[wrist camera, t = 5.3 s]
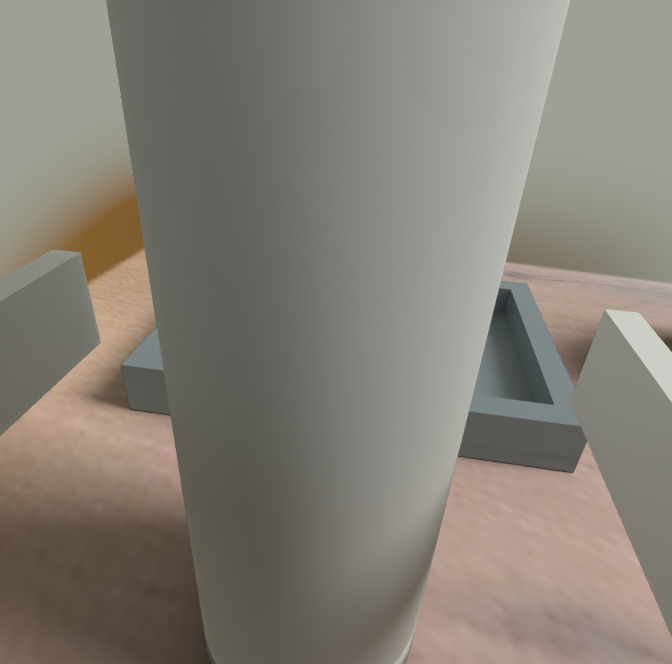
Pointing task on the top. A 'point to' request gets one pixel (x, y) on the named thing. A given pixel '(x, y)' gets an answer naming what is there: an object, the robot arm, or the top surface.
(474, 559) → the top surface
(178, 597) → the top surface
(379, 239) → the travel mug
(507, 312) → the tray
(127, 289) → the top surface
